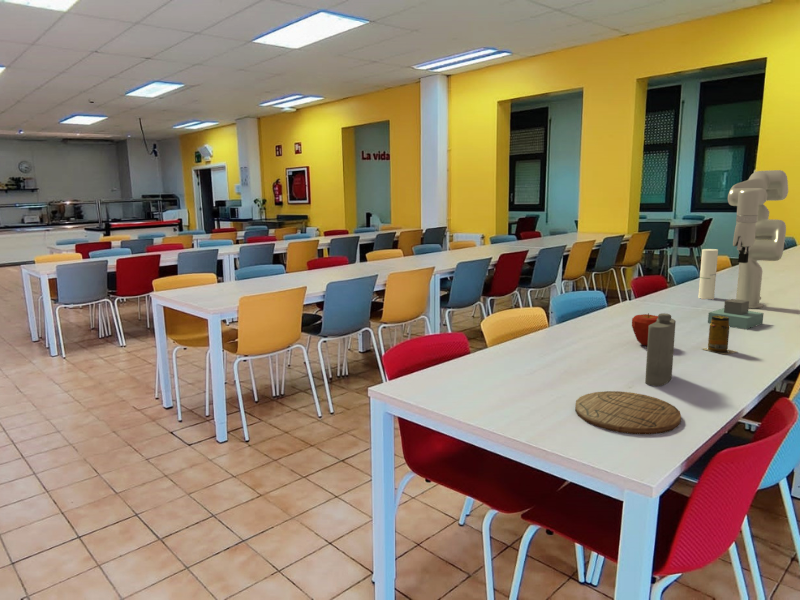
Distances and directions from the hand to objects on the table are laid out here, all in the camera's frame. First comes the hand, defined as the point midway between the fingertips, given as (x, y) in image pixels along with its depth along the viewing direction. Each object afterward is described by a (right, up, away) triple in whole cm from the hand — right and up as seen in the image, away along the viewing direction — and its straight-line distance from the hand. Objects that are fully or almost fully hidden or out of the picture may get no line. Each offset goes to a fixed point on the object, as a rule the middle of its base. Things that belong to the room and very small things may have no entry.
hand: (742, 262), depth 240 cm
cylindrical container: (+11, -15, +49) cm, 52 cm away
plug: (-6, -25, -5) cm, 26 cm away
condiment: (-35, -34, -43) cm, 65 cm away
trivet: (-89, -46, -96) cm, 138 cm away
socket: (-6, -26, -5) cm, 27 cm away
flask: (-68, -40, -71) cm, 106 cm away
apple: (-56, -33, -34) cm, 73 cm away
